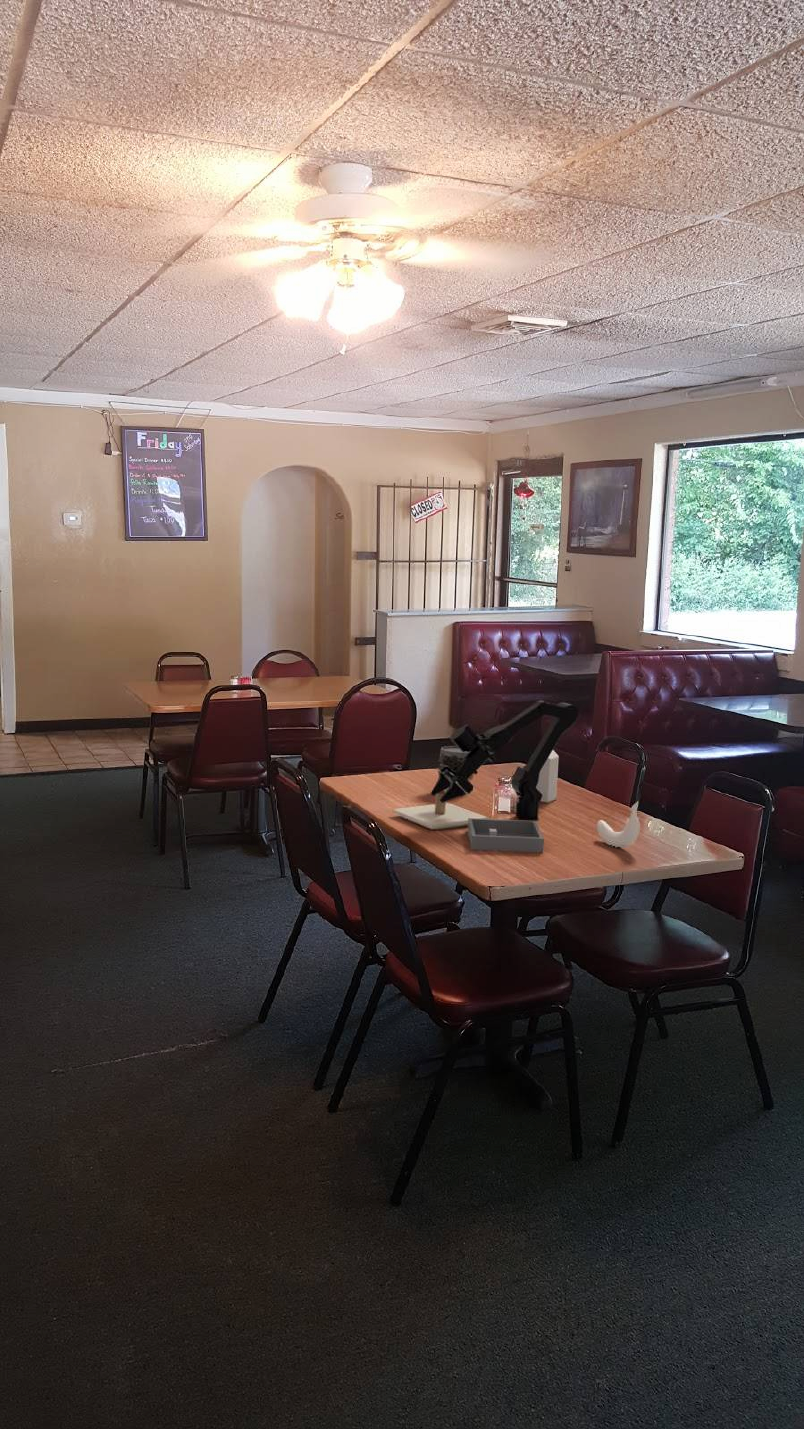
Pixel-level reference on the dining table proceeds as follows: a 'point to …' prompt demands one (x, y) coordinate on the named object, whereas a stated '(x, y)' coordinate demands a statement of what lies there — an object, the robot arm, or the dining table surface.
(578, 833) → the dining table surface
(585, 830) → the dining table surface
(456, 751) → the reusable coffee cup
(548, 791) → the milk carton
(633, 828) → the white shrimp
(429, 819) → the tub lid
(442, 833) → the dining table surface
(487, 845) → the tray
